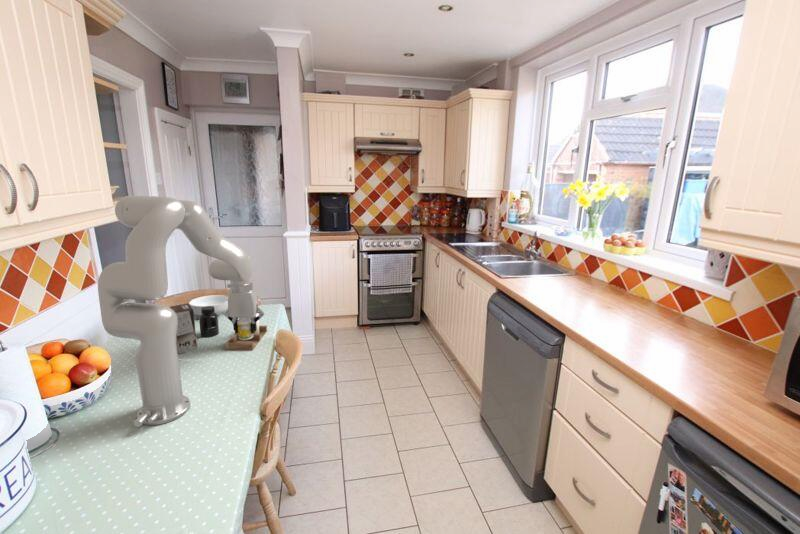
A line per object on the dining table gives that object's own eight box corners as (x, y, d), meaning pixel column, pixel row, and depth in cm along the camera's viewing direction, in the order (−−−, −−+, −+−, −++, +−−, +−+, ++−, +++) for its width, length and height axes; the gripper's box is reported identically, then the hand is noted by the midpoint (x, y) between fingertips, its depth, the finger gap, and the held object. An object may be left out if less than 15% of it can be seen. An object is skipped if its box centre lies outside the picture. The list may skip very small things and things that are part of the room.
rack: (252, 351, 140) (252, 344, 140) (225, 351, 140) (224, 344, 139) (267, 332, 158) (267, 325, 157) (243, 331, 157) (242, 325, 157)
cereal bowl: (236, 308, 184) (234, 294, 182) (222, 321, 167) (221, 306, 166) (200, 307, 182) (198, 294, 181) (183, 321, 166) (181, 306, 165)
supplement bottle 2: (252, 339, 143) (251, 316, 140) (237, 341, 141) (235, 317, 139) (253, 333, 147) (252, 311, 145) (239, 335, 146) (237, 312, 144)
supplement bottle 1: (211, 339, 149) (209, 311, 146) (196, 337, 150) (193, 309, 147) (223, 332, 156) (220, 305, 153) (208, 331, 157) (205, 304, 154)
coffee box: (198, 349, 141) (193, 309, 137) (178, 354, 137) (173, 313, 133) (193, 341, 148) (188, 302, 144) (174, 345, 144) (169, 305, 140)
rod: (258, 337, 151) (257, 311, 149) (246, 337, 150) (245, 311, 148) (260, 333, 155) (260, 308, 153) (249, 333, 155) (248, 308, 152)
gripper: (214, 290, 135) (218, 336, 140) (262, 290, 136) (264, 336, 140) (223, 283, 142) (227, 327, 147) (268, 284, 143) (270, 328, 148)
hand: (245, 331), depth 144 cm, fingers closed on supplement bottle 2, 5 cm apart
